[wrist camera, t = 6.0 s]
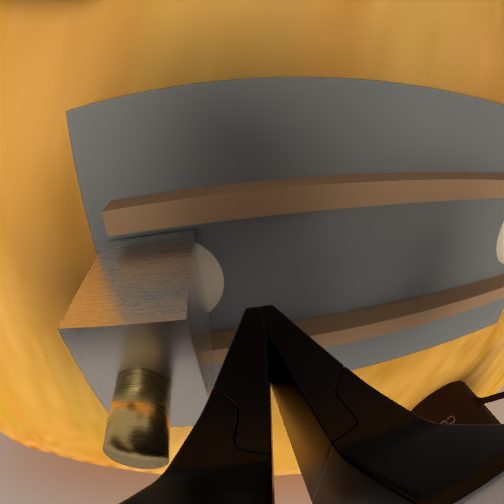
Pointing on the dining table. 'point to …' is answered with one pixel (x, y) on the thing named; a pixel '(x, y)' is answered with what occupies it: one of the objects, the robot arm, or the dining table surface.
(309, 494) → the robot arm
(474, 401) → the coffee mug
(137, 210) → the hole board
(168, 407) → the sliding pin block
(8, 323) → the dining table surface
